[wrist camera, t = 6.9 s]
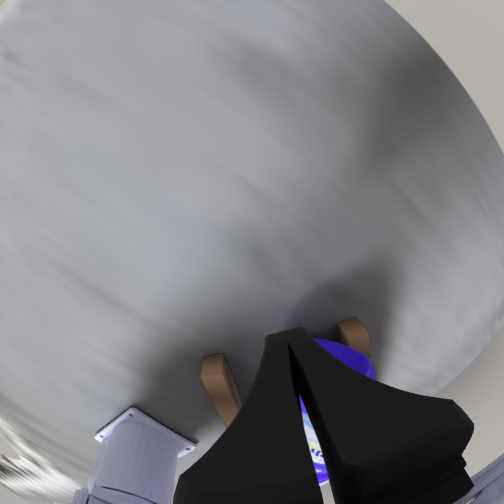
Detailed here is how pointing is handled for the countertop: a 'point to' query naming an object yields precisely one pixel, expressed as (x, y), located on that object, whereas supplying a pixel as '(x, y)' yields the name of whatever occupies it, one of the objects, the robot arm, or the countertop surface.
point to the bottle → (341, 353)
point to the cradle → (224, 386)
